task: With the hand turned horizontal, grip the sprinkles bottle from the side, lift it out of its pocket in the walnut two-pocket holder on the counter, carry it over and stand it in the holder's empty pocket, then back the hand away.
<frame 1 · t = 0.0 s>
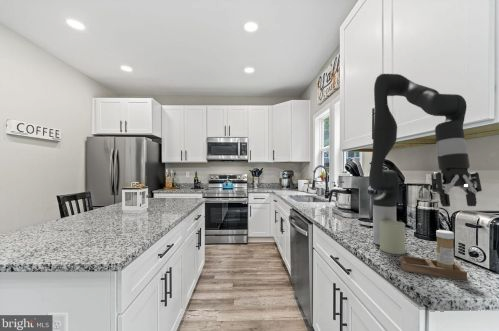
hand: (459, 206, 75), 22 cm above the countertop, tool pointing down, fingers open, 8 cm apart
holder: (430, 270, 82), on the countertop
can: (392, 250, 102), on the countertop
sprinkles bottle: (445, 273, 80), resting in holder
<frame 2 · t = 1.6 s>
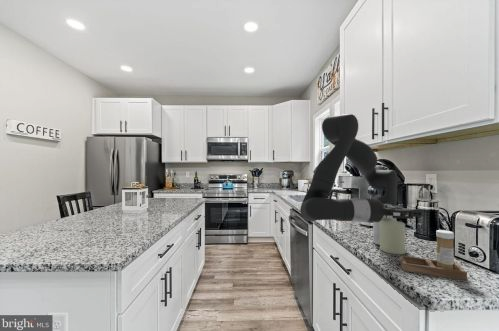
hand: (412, 210, 80), 20 cm above the countertop, tool horizontal, fingers open, 8 cm apart
nothing on the countertop moved.
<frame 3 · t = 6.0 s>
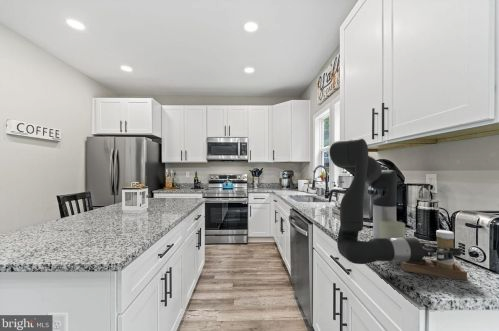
hand: (453, 249, 80), 8 cm above the countertop, tool horizontal, fingers closed on sprinkles bottle, 4 cm apart
sprinkles bottle: (445, 273, 80), resting in holder, touching gripper
everything else where it was.
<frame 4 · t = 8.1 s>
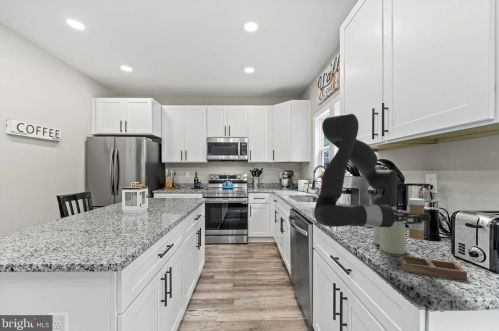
hand: (424, 216, 83), 18 cm above the countertop, tool horizontal, fingers closed on sprinkles bottle, 4 cm apart
sprinkles bottle: (416, 238, 83), point 10 cm above the countertop, touching gripper
everything else where it was.
when the fingers open (8 cm above the countertop, at t = 10.3 s): sprinkles bottle stays where it is, resting in holder.
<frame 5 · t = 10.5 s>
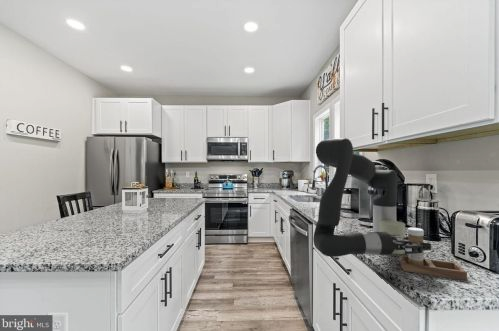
hand: (422, 243, 83), 8 cm above the countertop, tool horizontal, fingers open, 6 cm apart
sprinkles bottle: (415, 269, 83), resting in holder
everything else where it was.
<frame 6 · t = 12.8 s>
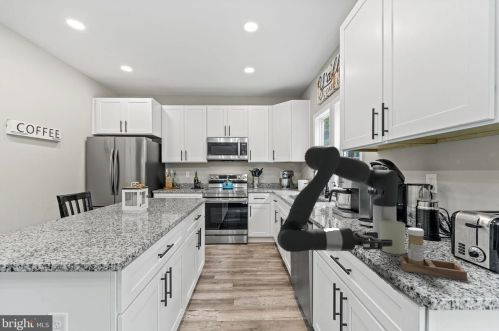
hand: (384, 238, 83), 10 cm above the countertop, tool horizontal, fingers open, 8 cm apart
nothing on the countertop moved.
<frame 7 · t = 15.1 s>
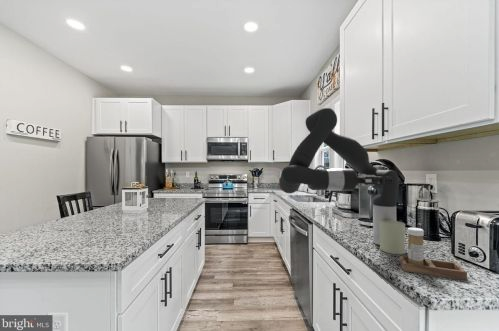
hand: (386, 179, 83), 30 cm above the countertop, tool horizontal, fingers open, 8 cm apart
nothing on the countertop moved.
at the end: sprinkles bottle 0.1 cm from the target spot, resting in holder; sprinkles bottle tilted 0°; the gripper is holding nothing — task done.
